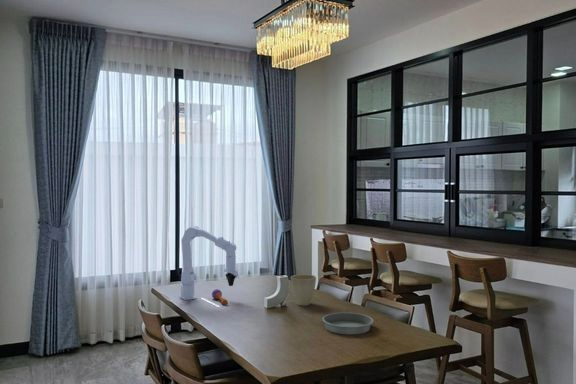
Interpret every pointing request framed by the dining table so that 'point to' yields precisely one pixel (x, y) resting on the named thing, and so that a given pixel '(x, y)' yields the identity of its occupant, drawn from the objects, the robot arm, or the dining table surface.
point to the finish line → (210, 302)
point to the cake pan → (347, 323)
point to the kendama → (219, 296)
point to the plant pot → (303, 288)
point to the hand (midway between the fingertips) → (230, 285)
